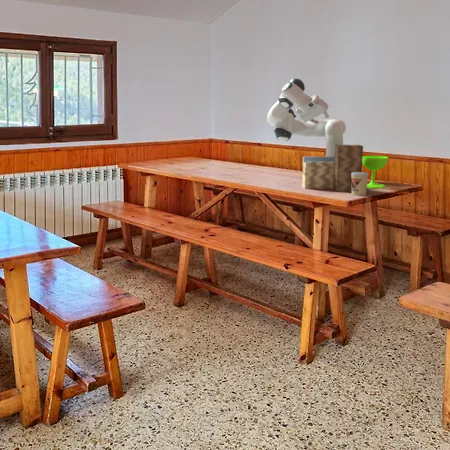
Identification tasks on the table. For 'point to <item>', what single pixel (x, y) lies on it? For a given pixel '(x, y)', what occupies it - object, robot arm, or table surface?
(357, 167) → the tall brown box
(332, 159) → the batten
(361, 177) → the coffee cup
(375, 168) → the wineglass
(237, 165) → the table surface
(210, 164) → the table surface
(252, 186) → the table surface
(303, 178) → the zigzag patterned box
